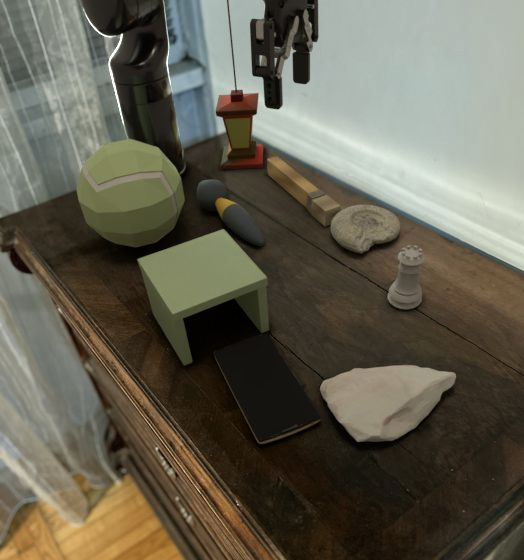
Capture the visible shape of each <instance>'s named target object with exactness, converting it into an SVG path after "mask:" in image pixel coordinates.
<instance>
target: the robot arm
mask: <svg viewBox="0 0 524 560" xmlns="http://www.w3.org/2000/svg"><path fill="white" fill-rule="evenodd" d="M262 1H263V3H264V9H263V17H262V18H251V19H250V22H249V34H250V35H249V36H250V37H249V38H250V58H251V59H250V60H251V74H252V76H253V77H257V78H262V82H263V100H264V106H265V107H266V109H270V110H280V109H281V108H283V105H284V99H283V76H282V74H283V69H284V65H285V61H286V60H288V59H289V58H290V56H292V81H293V83H294V84H298V85H307V84H308V83H310V81H311V53H312V51H313V48H314V43H317V42H318V41H319V37H320V36H319V0H262ZM80 3H81V7H82V10H83V12H84V15H85V17H86V19H87V20H88V22H89V24H90V25H91V26H92V28H93V29H94V30H95V31H96V32H98V34H100V35H102V36H104V37H107V38H114V37H117V36H120V40H119V42H118V45H117V47H116V48H115V50H114V51H113V53H112V54H111V56H110V57H109V60H108V68H109V73H110V77H111V81H112V86H113V88H114V92H115V93H114V94H115V97H116V100H117V104H118V108H119V113H120V116H121V120H122V124H123V125H122V126H123V129H124V133H125V137H126V139H133V140H136V141H139V142H142V143H145V144H148V145H152V146H155V147H158V148H159V149H160V150H161V151H162V152H163V154H164V155H165V156H166V157H167V158H168V159H169V160H170V162H171V163H172V164H173V165H174V166H175V167H176V169H177V171H178V173H179V175H180V177H181V178H182V177H183V176H184V175H185V173H186V171H187V165H186V161H185V157H184V155H185V148H184V147H183V146H182V139H181V135H180V129H179V122H178V117H177V112H176V111H177V110H176V106H175V100H174V95H173V89H172V83H171V78H170V72H169V66H168V59H169V55H170V54H169V52H170V40H169V34H168V26H167V25H168V24H167V16H166V9H165V8H166V7H165V2H164V0H80ZM291 50H292V51H293V52H292V55H291Z"/></svg>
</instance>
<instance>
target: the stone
mask: <svg viewBox="0 0 524 560" xmlns="http://www.w3.org/2000/svg"><path fill="white" fill-rule="evenodd" d="M456 379H457V375H456V373H455V372H453V371H442V370H437V369H435V368H434V369H433V368H430V367H420V366H418V365H414V364H412V365H411V364H402V365H401V364H400V365H387V366H375V367H369V368H362V367H353V368H352V369H351V370H349V371H345V372H341V373H339V374H337V375H335V376H333V377H330V378H327V379H324V380H323V381H322V383H321V384H320V388H319V391H320V394H321V396H322V399H323V400H324V401H325V402H326V403H327V408H328V409H329V410H330V412H331V413H332V414H333V416H334V418H335V419H336V420H337V422H339V424H341V425H342V426H343V427H344V429H345V430H346V432H347V433H348V434H349V436H351V437H352V438H353V439H354V440H355V441H356V442H357V443H361V442H364V443H365V442H371V443H372V442H373V443H374V442H375V443H378V442H393V441H395V440H397V439H399V438H401V437H403V436H404V435H406V434H407V433H409V432H411V431H412V430H415V429H416V428H417V427H418V425H419V424H420V423H421V422H422V421H423V420H424V419H425V418H426V417H427V416H429V414H430V413H431V412H432V410H433V409H434V408H435V407H436V405H437V404H438V403H439V402H440V401H441V397H442V395H443V393H444V392H446V391H448V390H450V389H451V388H452V387H453V386H454V384H455V383H456Z"/></svg>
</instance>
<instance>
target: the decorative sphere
mask: <svg viewBox="0 0 524 560" xmlns="http://www.w3.org/2000/svg"><path fill="white" fill-rule="evenodd" d="M75 191H76V195H77V200H78V204H79V206H80V209H81V212H82V215H83V217H84V220H85V224H86V225H88V227H90V228H91V229H92V230H94V231H95V232H96V233H97V234H99V235H100V236H101V237H102V238H103V239H106V241H109V242H111V243H113V244H115V245H120V246H125V247H131V248H140V247H144V246H146V245H147V246H148V245H151V244H155V243H157V242H159V241H160V240H162V239H163V238H164V237H165V236H166V235H168V234H169V233H170V232H171V231H173V230H174V229H175V227H176V224H177V222H178V219H179V216H180V215H181V211H182V209H183V206H184V204H185V201H186V197H185V192H184V186H183V181H182V176H181V177H180V175H179V173H178V171H177V169H176V167H175V166H174V165H173V164H172V163H171V162H170V160H169V159H168V158H167V157H166V156H165V155H164V154H163V152H162V151H161V150H160V149H159V148H158V147H155V146H152V145H148V144H145V143H142V142H139V141H136V140H133V139H127V138H126V139H122V140H116V141H112V142H107V143H104V144H102V145H101V146H100V147H99V148H98V149H97V150H96V151H95V152H94V153H93V154H91V155H90V157H88V158H87V159H86V160H85V161H84V165H82V166H81V168H80V172H79V176H78V181H77V183H76V190H75Z"/></svg>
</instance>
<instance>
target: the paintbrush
mask: <svg viewBox="0 0 524 560" xmlns="http://www.w3.org/2000/svg"><path fill="white" fill-rule="evenodd" d="M228 195H229V194H228V190H227V187H226V185H225V184H224V183H223V182H221V181H220V180H218V179H214V178H213V179H212V178H211V179H205V180H204V179H203V180H201V181H200V182H199V183H198V184H197V188H196V198H197V201H198V204H199V206H200V207H201V208H202V209H204V210H206V211H209V212H216V211H217V213H218V215H219V217H220V219H221V220H222V222H223V223H224V225H225V226H226V227H227V228H228V229H229V230H231V231H232V232H233V233H234V234H235V235H237V236H238V237H240V238H241V239H243V240H244V241H245V242H247V243H250V244H252V245H255V246H257V247H258V246H260V247H263V246H264V245H265V237H264V234H263V232H262V230H261V228H260V226H259V225H258V224H257V222H256V221H255V220H254V218H253V217H252V215H250V214H249V213H248V212H247V210H245V208H243V207H242V206H241V205H240V204H238V203H236V202H234V201H232V200H229V199H228Z"/></svg>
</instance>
